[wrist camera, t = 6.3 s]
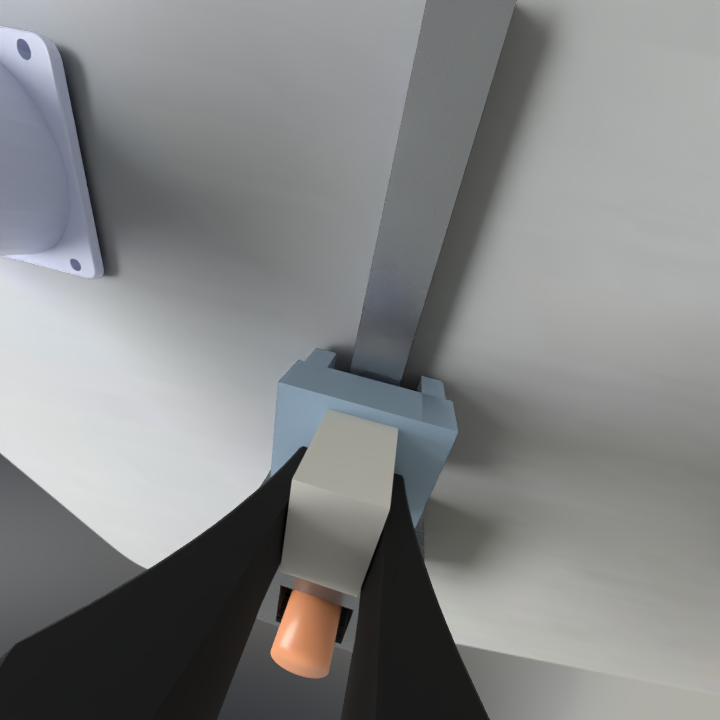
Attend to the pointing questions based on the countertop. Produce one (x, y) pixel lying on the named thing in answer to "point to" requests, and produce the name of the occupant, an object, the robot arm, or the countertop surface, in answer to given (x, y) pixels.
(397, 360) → the rail
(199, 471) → the countertop surface
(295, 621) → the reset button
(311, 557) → the carriage
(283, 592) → the cabinet
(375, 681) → the robot arm
